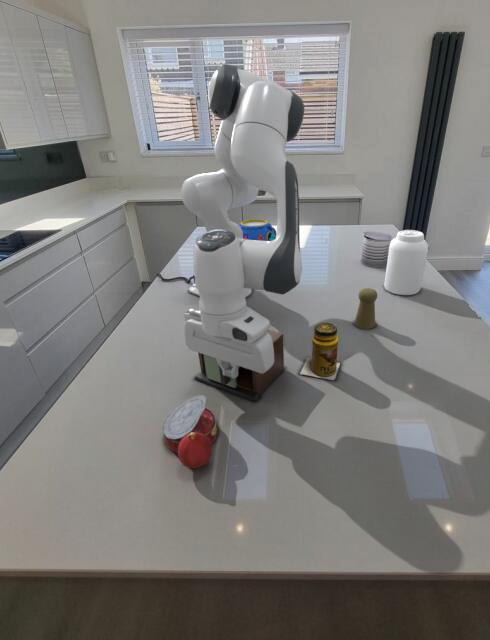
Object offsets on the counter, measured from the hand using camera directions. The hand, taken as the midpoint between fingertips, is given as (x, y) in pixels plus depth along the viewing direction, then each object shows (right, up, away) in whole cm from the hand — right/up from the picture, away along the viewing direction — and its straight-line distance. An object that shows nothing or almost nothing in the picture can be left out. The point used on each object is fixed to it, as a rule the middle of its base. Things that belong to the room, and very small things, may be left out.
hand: (230, 375), depth 79 cm
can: (+49, +40, +77) cm, 99 cm away
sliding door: (-3, -3, +5) cm, 7 cm away
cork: (+35, +12, +31) cm, 49 cm away
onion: (-4, -15, -12) cm, 20 cm away
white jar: (+53, +26, +53) cm, 79 cm away
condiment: (+20, 0, +12) cm, 23 cm away
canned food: (-7, -11, -6) cm, 14 cm away
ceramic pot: (-2, +44, +84) cm, 95 cm away
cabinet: (+1, 0, +11) cm, 11 cm away
